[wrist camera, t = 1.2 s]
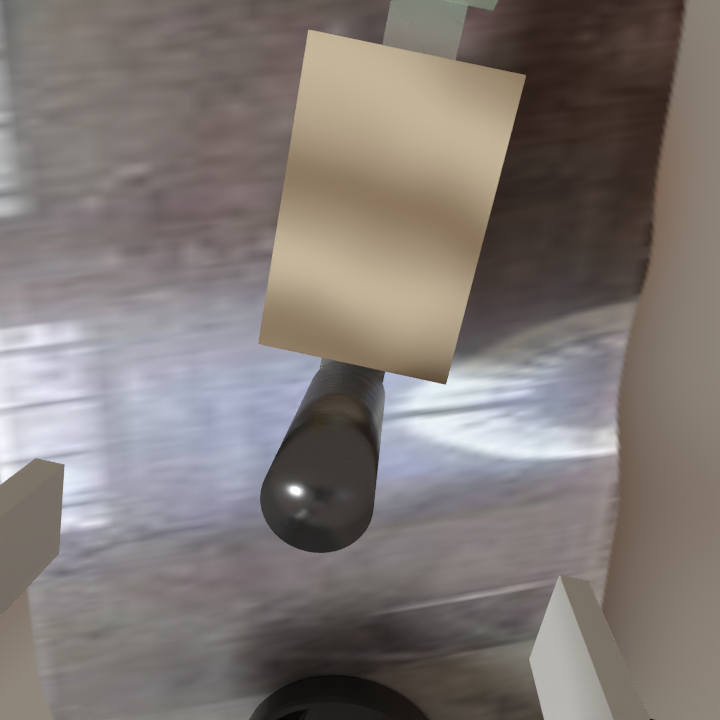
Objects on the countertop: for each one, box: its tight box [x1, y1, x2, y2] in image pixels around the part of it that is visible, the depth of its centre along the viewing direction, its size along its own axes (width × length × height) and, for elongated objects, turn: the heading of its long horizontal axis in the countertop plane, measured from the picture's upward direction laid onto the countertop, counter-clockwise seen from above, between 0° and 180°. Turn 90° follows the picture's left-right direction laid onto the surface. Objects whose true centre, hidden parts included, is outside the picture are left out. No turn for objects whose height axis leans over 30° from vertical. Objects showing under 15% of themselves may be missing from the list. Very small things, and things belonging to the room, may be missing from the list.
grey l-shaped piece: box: [260, 0, 468, 553], centre depth 22 cm, size 24×4×13 cm, turn 168°
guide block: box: [258, 30, 526, 384], centre depth 29 cm, size 12×8×11 cm, turn 168°
